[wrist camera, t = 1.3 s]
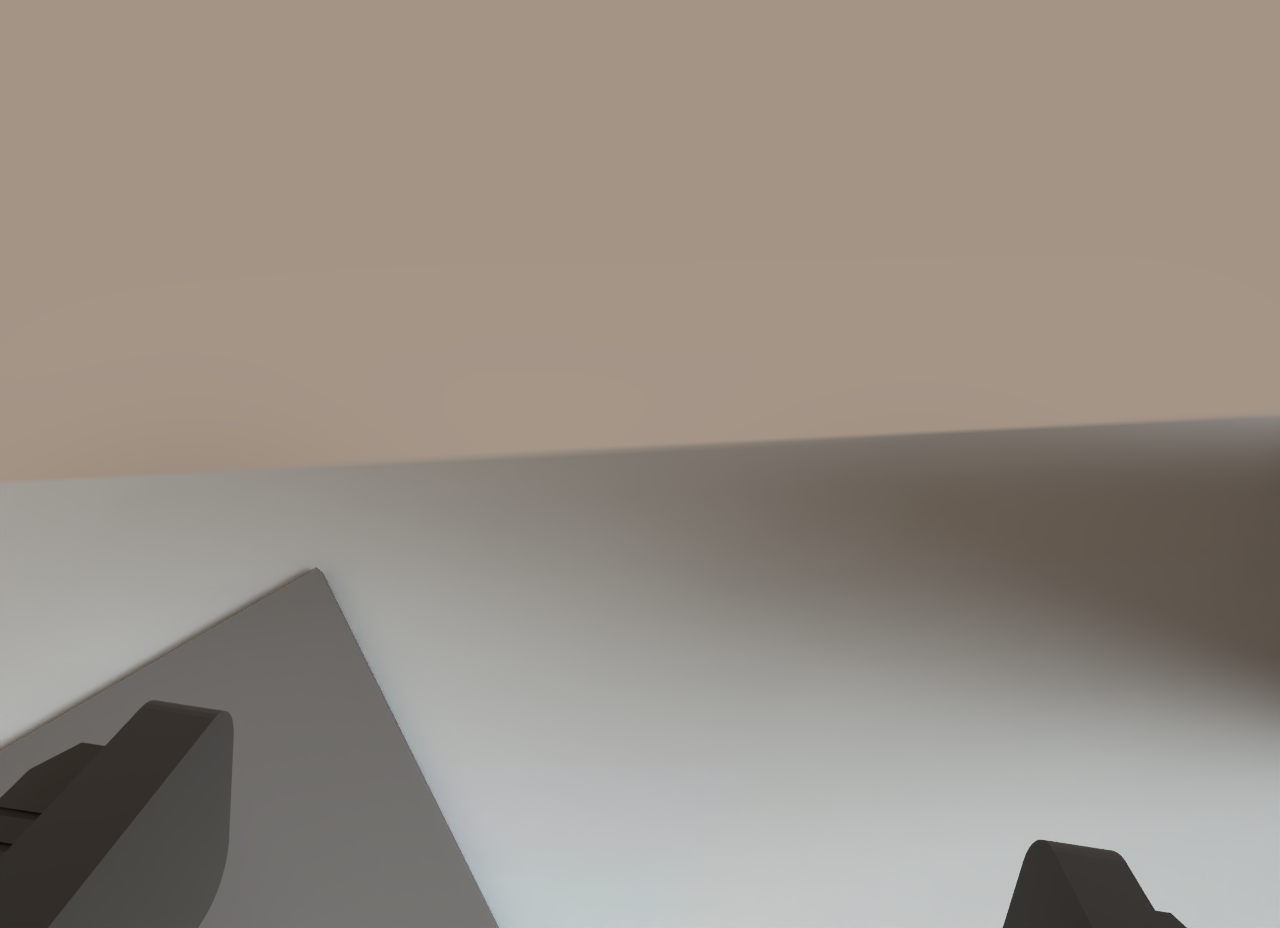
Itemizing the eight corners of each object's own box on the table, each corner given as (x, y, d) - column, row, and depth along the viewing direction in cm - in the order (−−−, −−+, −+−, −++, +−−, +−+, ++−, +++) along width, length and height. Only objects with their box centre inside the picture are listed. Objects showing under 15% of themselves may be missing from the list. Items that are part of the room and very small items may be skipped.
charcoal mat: (322, 572, 36) (317, 567, 35) (538, 1007, 30) (534, 1007, 29) (-109, 822, 34) (-121, 820, 33) (27, 1346, 28) (14, 1352, 27)
